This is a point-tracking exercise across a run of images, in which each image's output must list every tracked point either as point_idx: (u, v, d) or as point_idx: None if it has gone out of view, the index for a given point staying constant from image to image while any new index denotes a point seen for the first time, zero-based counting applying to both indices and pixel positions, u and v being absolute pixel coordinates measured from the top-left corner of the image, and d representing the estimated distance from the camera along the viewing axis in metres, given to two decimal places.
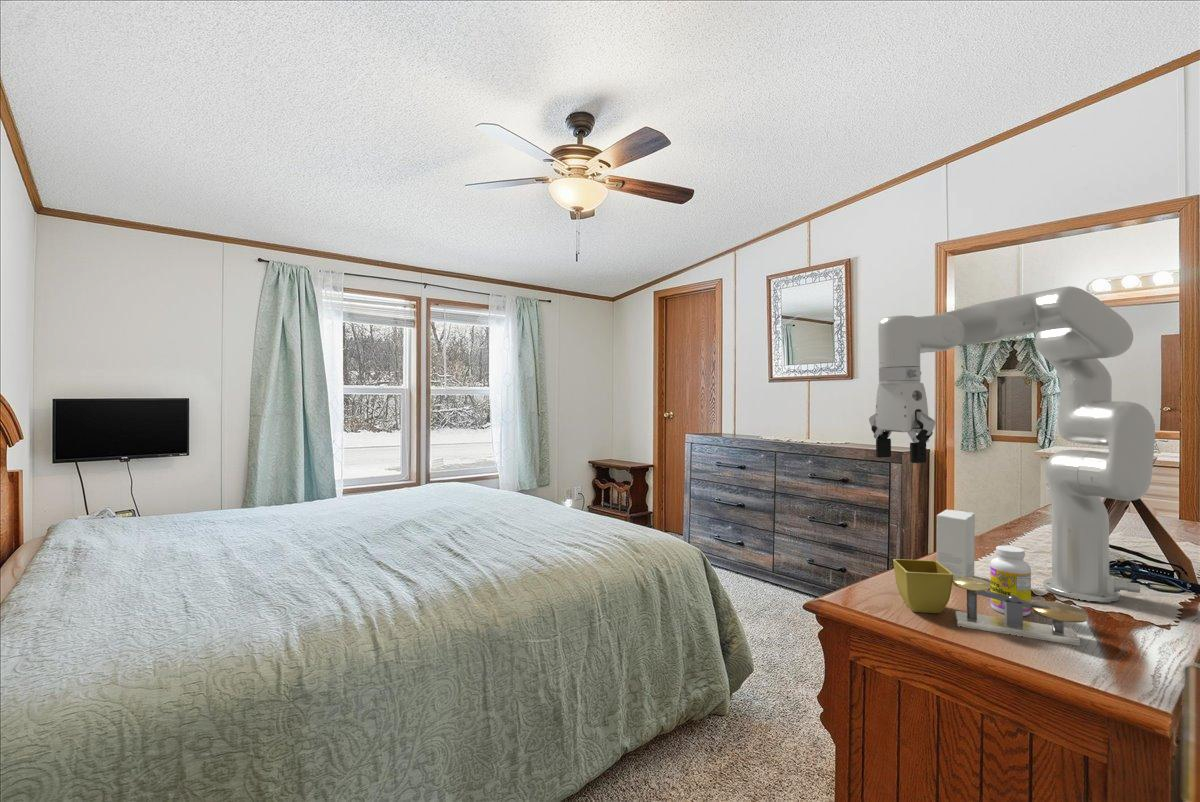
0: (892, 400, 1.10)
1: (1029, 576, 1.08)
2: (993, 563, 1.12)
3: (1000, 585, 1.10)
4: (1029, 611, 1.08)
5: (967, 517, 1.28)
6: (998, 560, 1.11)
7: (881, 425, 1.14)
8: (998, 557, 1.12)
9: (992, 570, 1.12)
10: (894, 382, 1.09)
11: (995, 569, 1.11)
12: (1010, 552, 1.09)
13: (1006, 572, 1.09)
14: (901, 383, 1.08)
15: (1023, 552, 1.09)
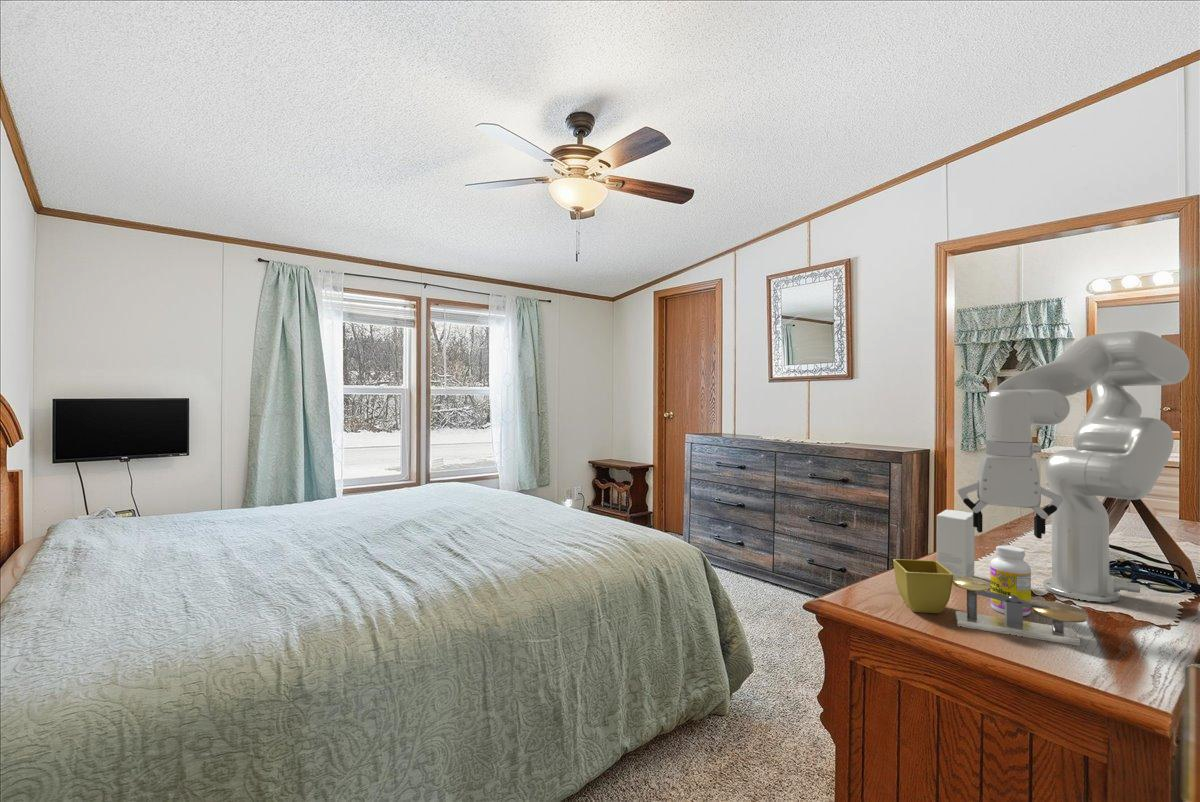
0: (1016, 475, 1.08)
1: (1029, 576, 1.08)
2: (993, 563, 1.12)
3: (1000, 585, 1.10)
4: (1029, 611, 1.08)
5: (967, 517, 1.28)
6: (998, 560, 1.11)
7: (993, 500, 1.10)
8: (998, 557, 1.12)
9: (992, 570, 1.12)
10: (1025, 458, 1.07)
11: (995, 569, 1.11)
12: (1010, 552, 1.09)
13: (1006, 572, 1.09)
14: (1029, 459, 1.07)
15: (1023, 552, 1.09)
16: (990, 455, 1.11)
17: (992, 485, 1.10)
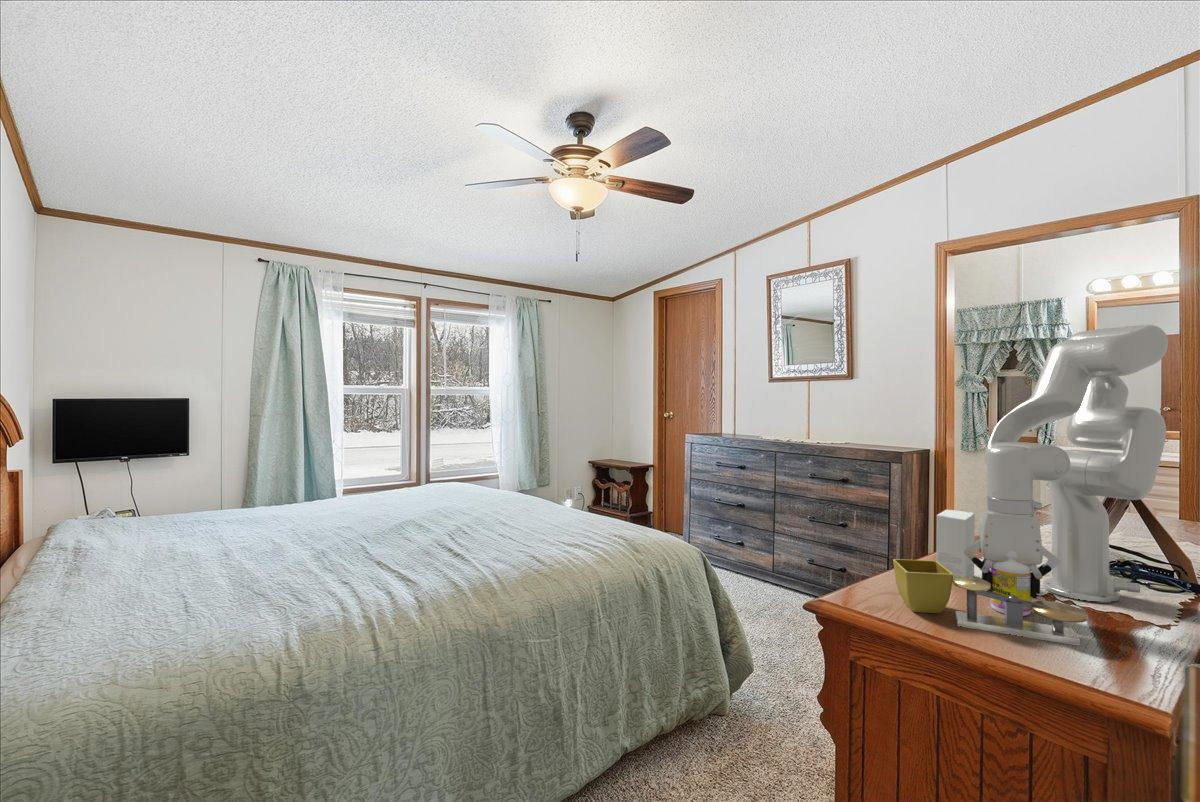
0: (1018, 533, 1.08)
1: (1029, 576, 1.08)
2: (993, 563, 1.12)
3: (1000, 585, 1.10)
4: (1029, 611, 1.08)
5: (967, 517, 1.28)
6: None
7: (994, 556, 1.11)
8: None
9: (992, 570, 1.12)
10: (1026, 516, 1.07)
11: (995, 569, 1.11)
12: (1010, 552, 1.09)
13: (1006, 572, 1.09)
14: (1031, 516, 1.08)
15: None
16: (991, 511, 1.11)
17: (994, 542, 1.10)
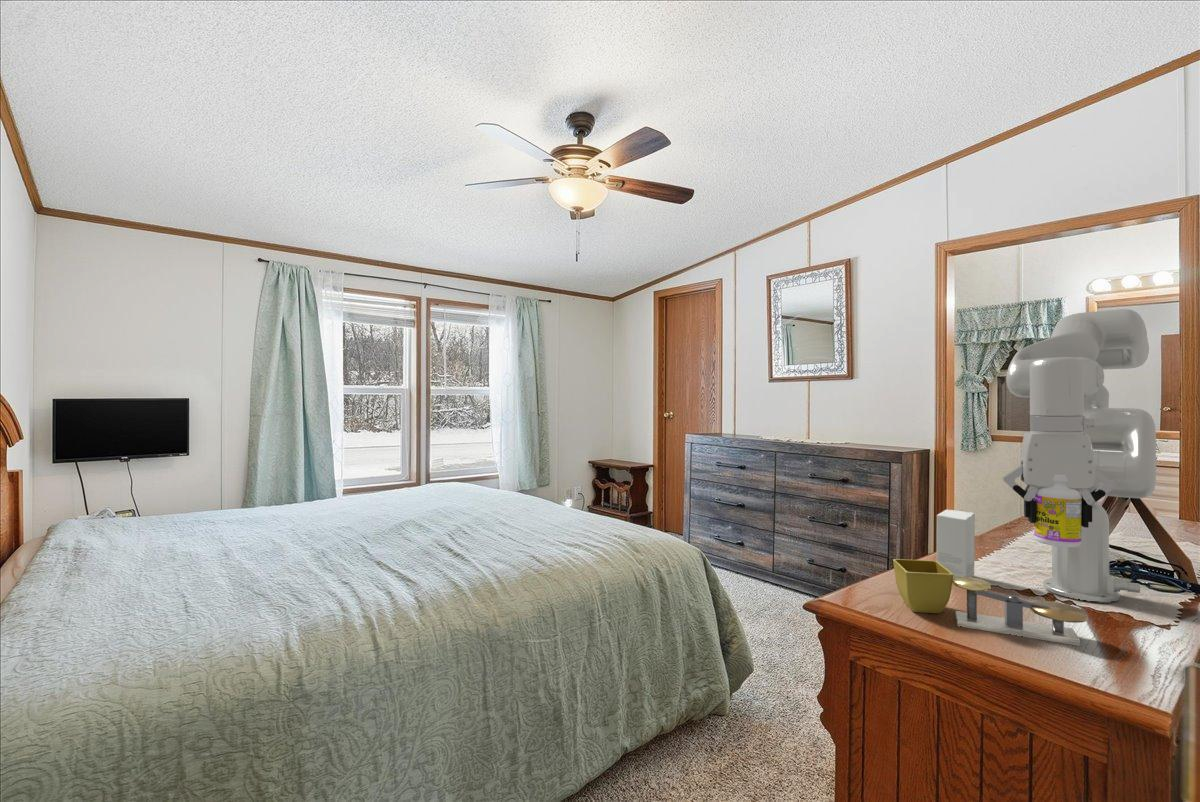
0: (1067, 453, 0.96)
1: (1080, 502, 0.96)
2: None
3: (1046, 513, 0.97)
4: (1080, 542, 0.96)
5: (967, 517, 1.28)
6: None
7: (1040, 481, 0.98)
8: None
9: (1036, 498, 0.99)
10: (1077, 433, 0.95)
11: (1040, 496, 0.98)
12: (1058, 476, 0.97)
13: (1054, 498, 0.96)
14: (1082, 434, 0.95)
15: None
16: (1036, 431, 0.99)
17: (1039, 465, 0.98)
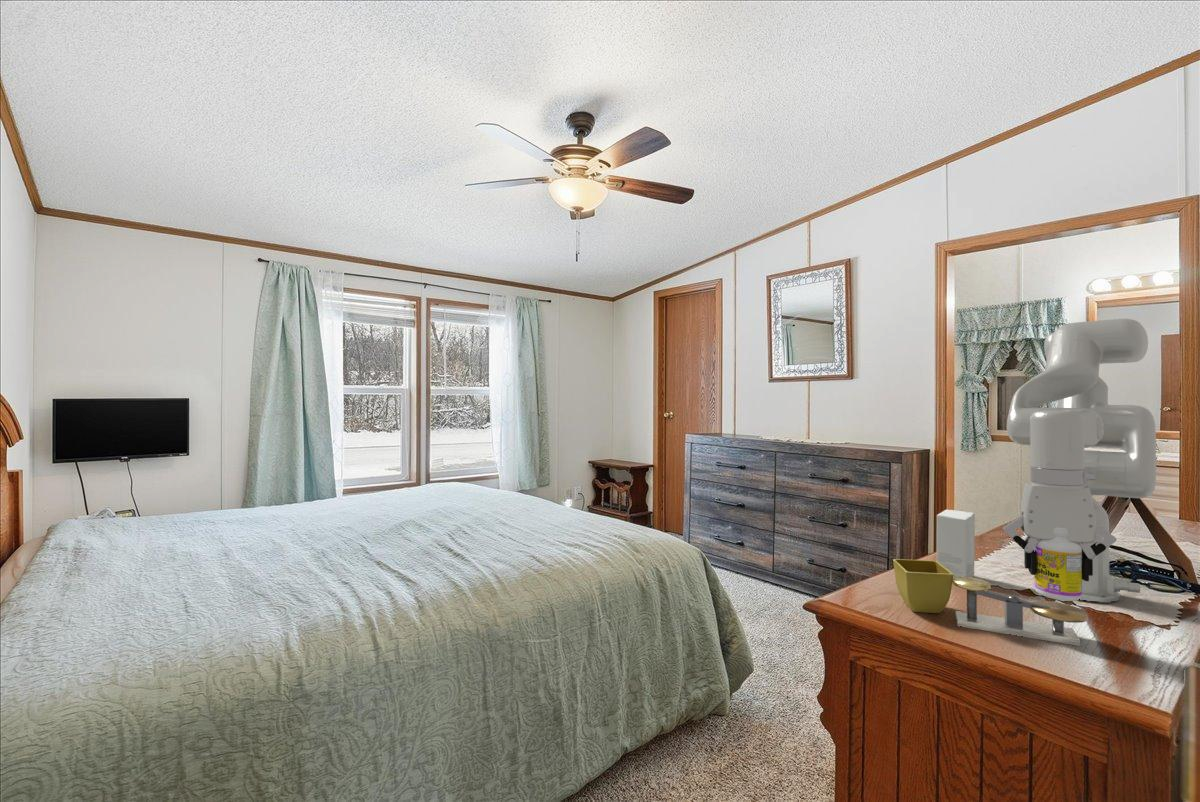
0: (1067, 507, 0.96)
1: (1080, 556, 0.96)
2: (1038, 542, 0.99)
3: (1046, 566, 0.97)
4: (1080, 595, 0.96)
5: (967, 517, 1.28)
6: None
7: (1040, 534, 0.98)
8: None
9: (1037, 549, 0.99)
10: (1077, 487, 0.95)
11: (1041, 548, 0.98)
12: (1058, 529, 0.97)
13: (1055, 551, 0.96)
14: (1082, 488, 0.95)
15: None
16: (1036, 483, 0.99)
17: (1039, 517, 0.98)
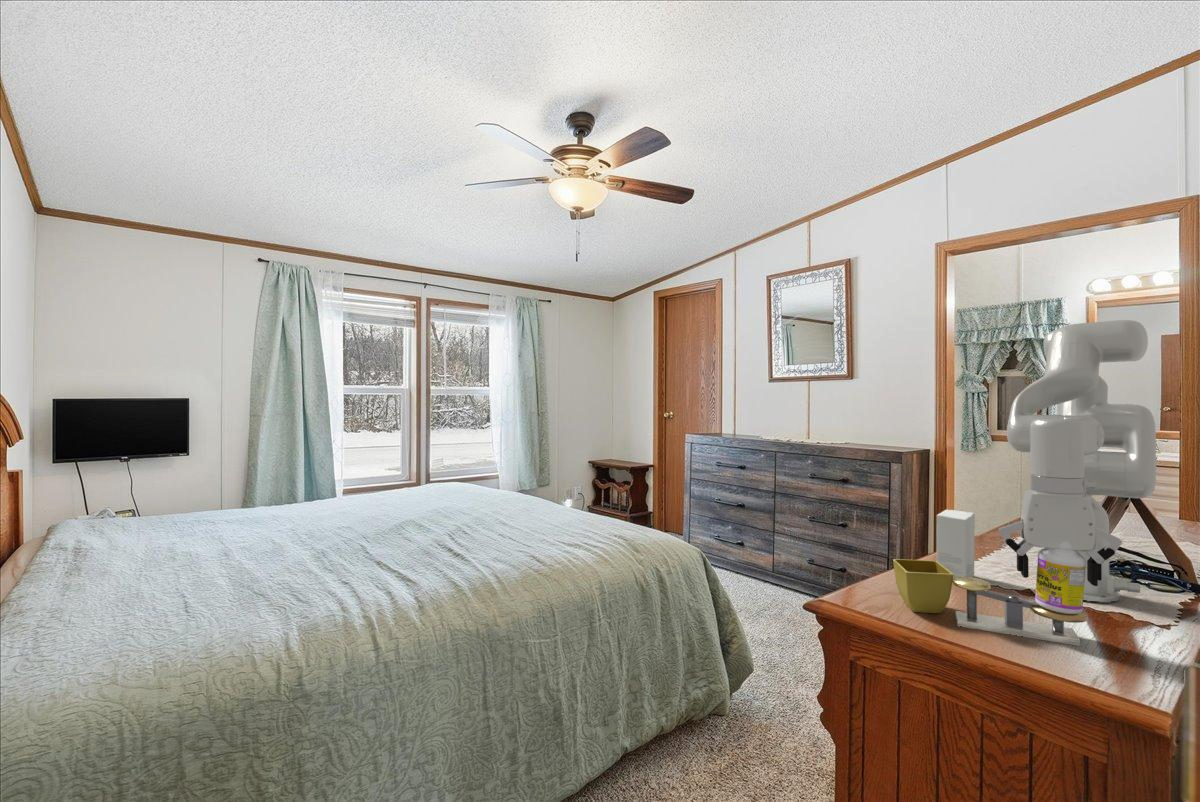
0: (1067, 515, 0.96)
1: (1084, 570, 0.96)
2: (1042, 554, 0.99)
3: (1049, 578, 0.97)
4: (1081, 609, 0.96)
5: (967, 517, 1.28)
6: (1049, 551, 0.98)
7: (1040, 542, 0.98)
8: None
9: (1040, 562, 0.99)
10: (1077, 496, 0.95)
11: (1044, 561, 0.98)
12: (1063, 542, 0.97)
13: (1058, 565, 0.96)
14: (1082, 496, 0.95)
15: None
16: (1036, 491, 0.99)
17: (1039, 525, 0.98)
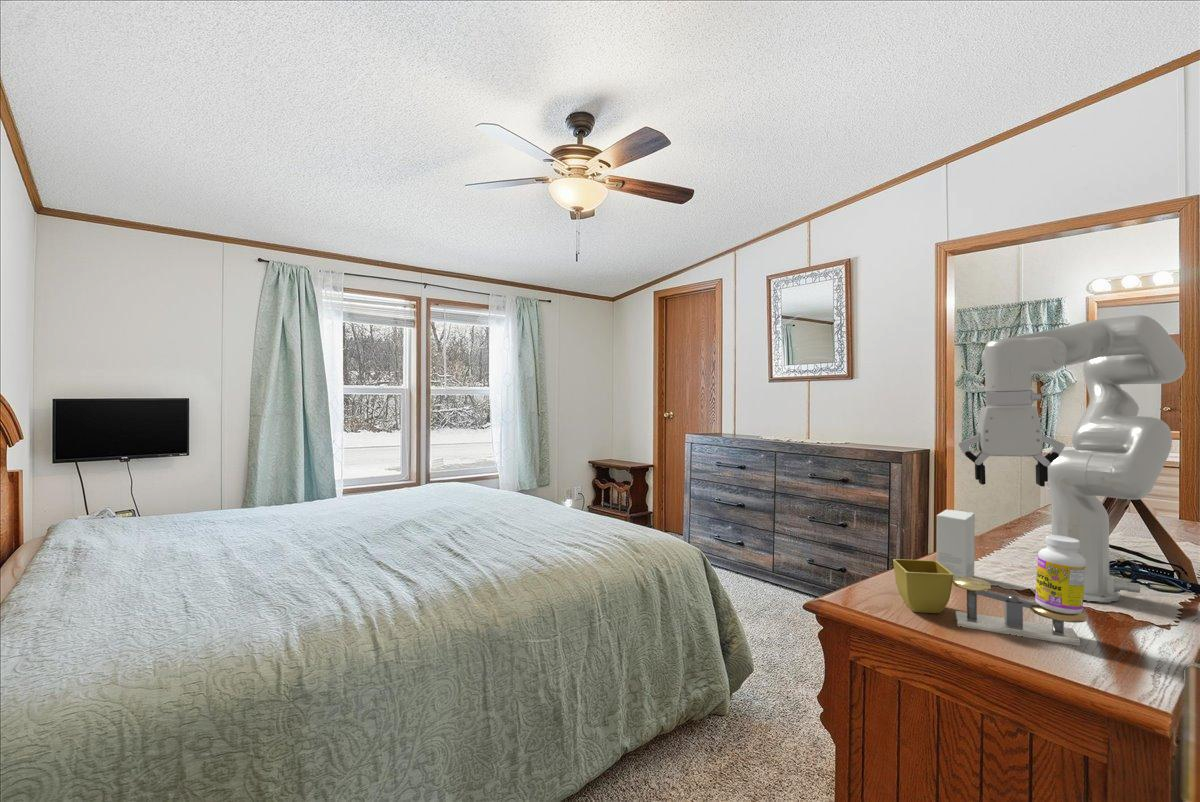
0: (1018, 424, 1.07)
1: (1084, 570, 0.96)
2: (1042, 554, 0.99)
3: (1049, 578, 0.97)
4: (1081, 609, 0.96)
5: (967, 517, 1.28)
6: (1049, 551, 0.98)
7: (995, 451, 1.09)
8: (1048, 547, 0.99)
9: (1040, 562, 0.99)
10: (1026, 406, 1.06)
11: (1044, 561, 0.98)
12: (1063, 542, 0.97)
13: (1058, 565, 0.96)
14: (1030, 407, 1.06)
15: (1078, 543, 0.97)
16: (991, 406, 1.09)
17: (994, 436, 1.09)
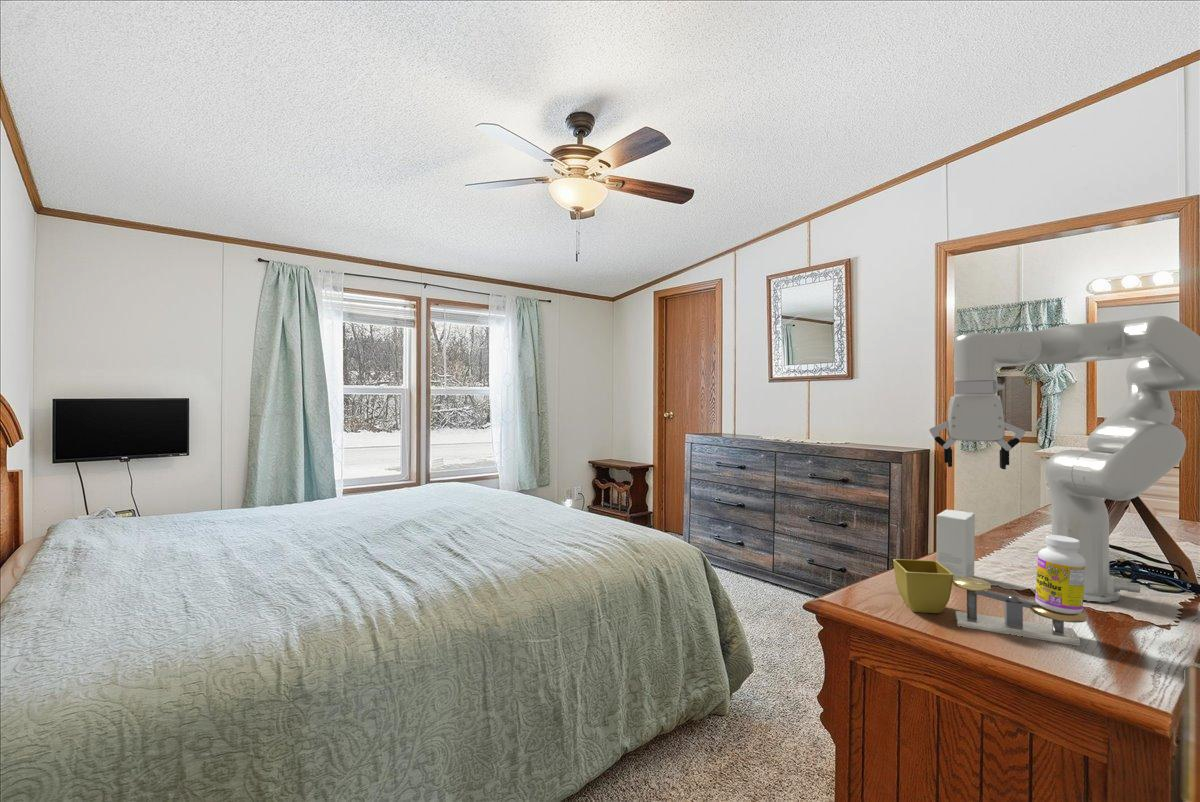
0: (982, 412, 1.17)
1: (1084, 570, 0.96)
2: (1042, 554, 0.99)
3: (1049, 578, 0.97)
4: (1081, 609, 0.96)
5: (967, 517, 1.28)
6: (1049, 551, 0.98)
7: (961, 436, 1.19)
8: (1048, 547, 0.99)
9: (1040, 562, 0.99)
10: (989, 395, 1.16)
11: (1044, 561, 0.98)
12: (1063, 542, 0.97)
13: (1058, 565, 0.96)
14: (993, 396, 1.16)
15: (1078, 543, 0.97)
16: (958, 394, 1.19)
17: (960, 422, 1.19)
